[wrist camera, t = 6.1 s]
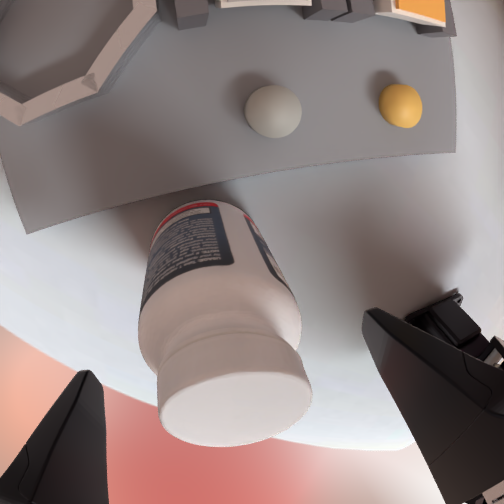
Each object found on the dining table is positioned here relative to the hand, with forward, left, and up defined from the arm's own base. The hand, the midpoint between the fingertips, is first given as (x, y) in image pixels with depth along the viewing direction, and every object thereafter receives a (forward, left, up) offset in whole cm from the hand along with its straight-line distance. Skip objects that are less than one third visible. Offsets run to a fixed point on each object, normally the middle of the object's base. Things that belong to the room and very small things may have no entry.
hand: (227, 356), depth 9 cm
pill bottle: (0, 0, -7) cm, 7 cm away
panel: (+11, -3, -7) cm, 13 cm away
